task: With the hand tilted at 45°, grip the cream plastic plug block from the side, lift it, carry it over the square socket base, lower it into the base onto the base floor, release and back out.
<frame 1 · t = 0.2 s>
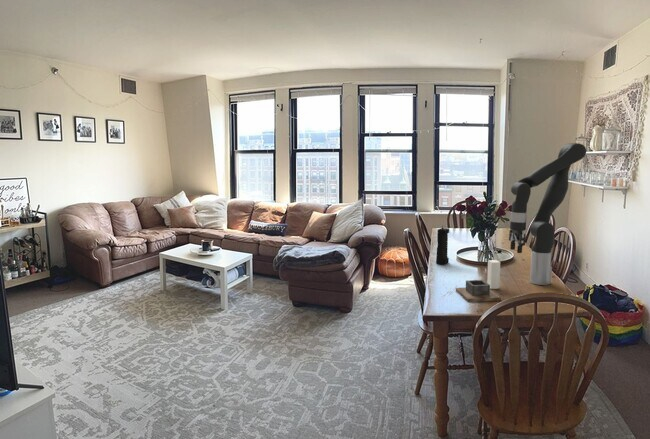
hand: (515, 251, 214), 18 cm above the table, tool pointing down, fingers open, 8 cm apart
plug block: (493, 287, 213), on the table
square socket base: (477, 295, 201), on the table
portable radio: (442, 263, 261), on the table
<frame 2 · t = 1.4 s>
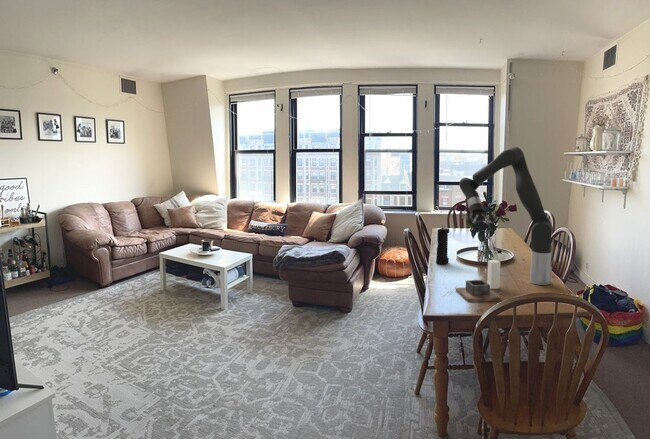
hand: (483, 229, 222), 28 cm above the table, tool tilted 45°, fingers open, 8 cm apart
nothing on the table moved.
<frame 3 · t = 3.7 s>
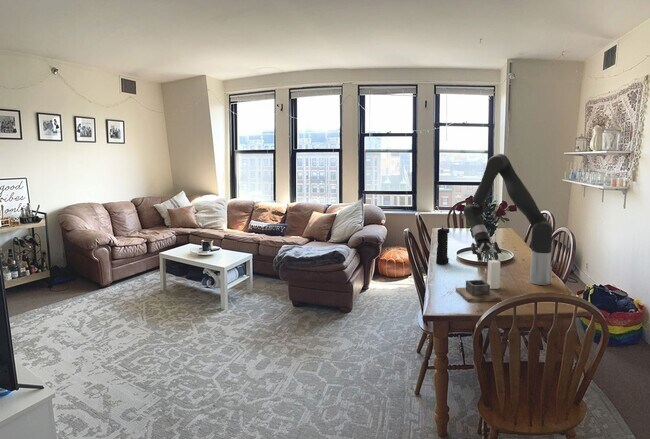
hand: (488, 260, 217), 13 cm above the table, tool tilted 45°, fingers open, 8 cm apart
nothing on the table moved.
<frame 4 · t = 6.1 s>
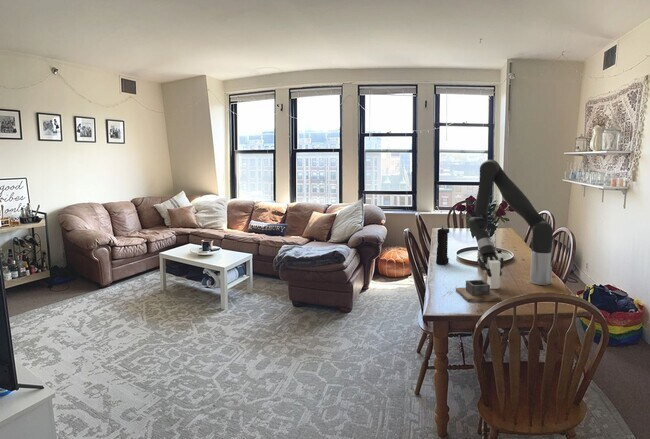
hand: (495, 276, 210), 7 cm above the table, tool tilted 45°, fingers closed on plug block, 4 cm apart
plug block: (493, 287, 213), on the table, touching gripper
everything else where it was.
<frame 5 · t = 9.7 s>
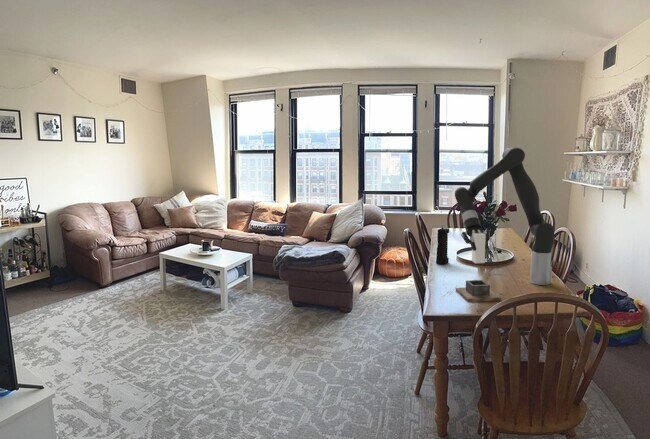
hand: (480, 249, 196), 24 cm above the table, tool tilted 45°, fingers closed on plug block, 4 cm apart
plug block: (478, 261, 199), point 17 cm above the table, touching gripper
everything else where it was.
when the fingers open (10 cm above the table, at t = 13.3 s): plug block drops 1 cm, resting on square socket base.
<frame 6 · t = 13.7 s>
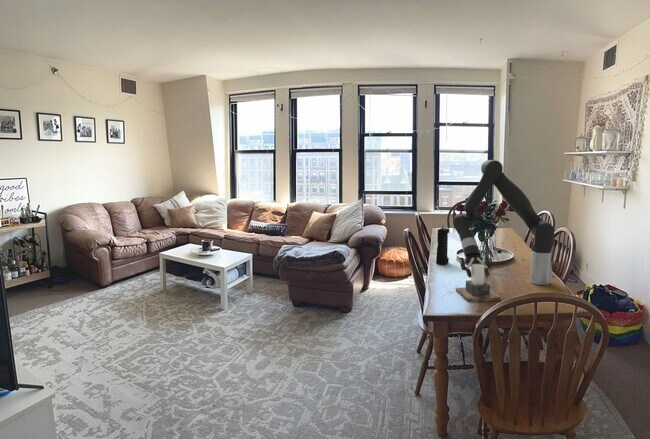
hand: (479, 276, 198), 10 cm above the table, tool tilted 45°, fingers open, 8 cm apart
plug block: (477, 292, 201), point 2 cm above the table, touching square socket base
everything else where it was.
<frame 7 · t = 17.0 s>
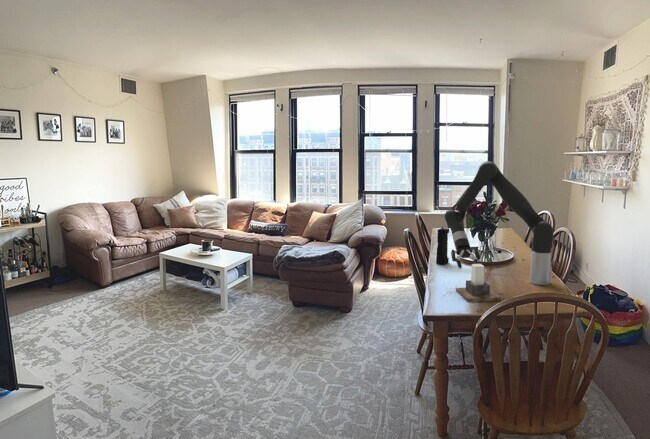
hand: (468, 267, 211), 11 cm above the table, tool tilted 45°, fingers open, 8 cm apart
nothing on the table moved.
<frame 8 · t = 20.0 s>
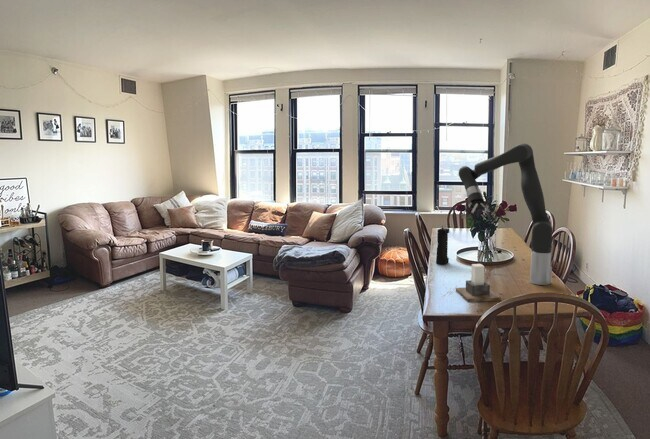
hand: (482, 219, 216), 35 cm above the table, tool tilted 45°, fingers open, 8 cm apart
nothing on the table moved.
at the end: plug block 0.1 cm off-centre on the square socket base, point 1.5 cm above the square socket base's base; plug block tilted 0°; the gripper is holding nothing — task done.
